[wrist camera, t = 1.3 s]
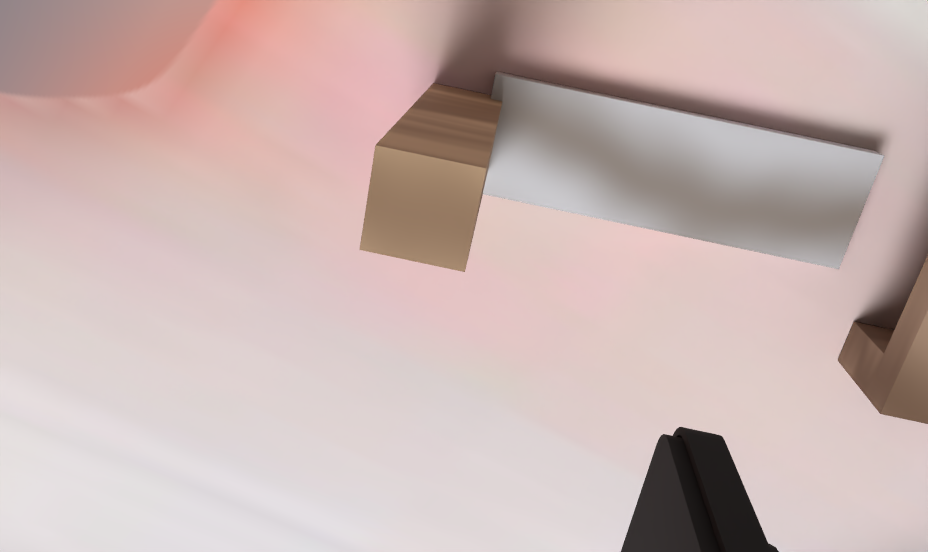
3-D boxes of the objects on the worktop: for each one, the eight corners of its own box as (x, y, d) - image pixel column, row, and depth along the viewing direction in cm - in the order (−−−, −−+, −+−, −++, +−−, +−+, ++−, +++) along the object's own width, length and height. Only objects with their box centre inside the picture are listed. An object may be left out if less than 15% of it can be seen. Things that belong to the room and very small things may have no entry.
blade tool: (437, 58, 32) (381, 107, 20) (874, 150, 32) (1080, 254, 20) (417, 174, 34) (354, 282, 22) (830, 261, 34) (995, 417, 22)
